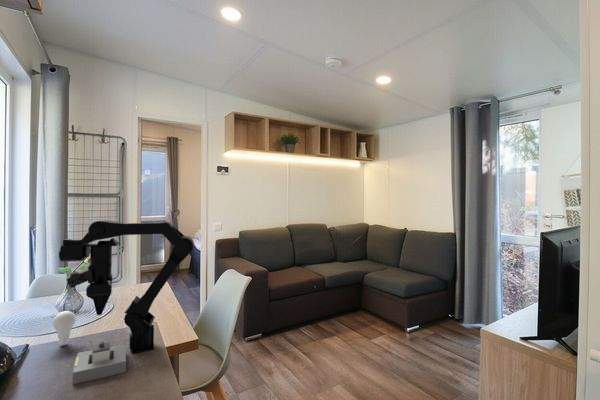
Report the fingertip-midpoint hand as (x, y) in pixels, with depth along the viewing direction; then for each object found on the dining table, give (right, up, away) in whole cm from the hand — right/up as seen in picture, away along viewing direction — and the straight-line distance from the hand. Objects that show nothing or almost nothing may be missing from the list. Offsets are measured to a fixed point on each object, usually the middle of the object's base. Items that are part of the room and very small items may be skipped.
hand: (99, 310), depth 97 cm
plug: (+6, -13, -9) cm, 17 cm away
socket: (+6, -13, -9) cm, 17 cm away
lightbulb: (-14, -13, +4) cm, 20 cm away
